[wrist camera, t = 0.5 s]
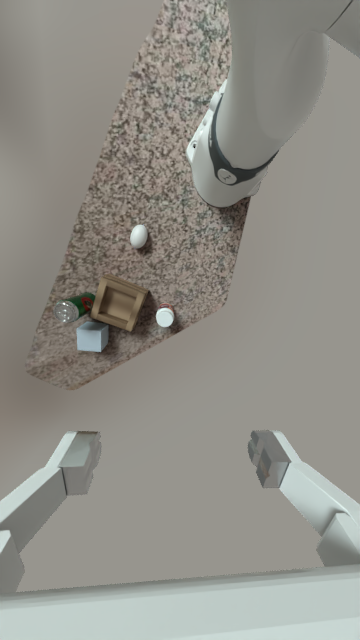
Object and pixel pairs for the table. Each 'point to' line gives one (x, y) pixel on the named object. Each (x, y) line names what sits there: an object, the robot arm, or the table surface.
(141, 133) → the table surface
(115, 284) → the wooden open box
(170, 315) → the pill bottle
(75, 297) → the soda can
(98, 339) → the slate block
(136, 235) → the egg
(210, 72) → the table surface
